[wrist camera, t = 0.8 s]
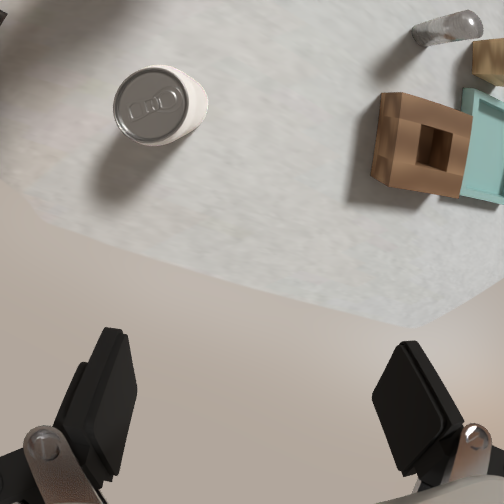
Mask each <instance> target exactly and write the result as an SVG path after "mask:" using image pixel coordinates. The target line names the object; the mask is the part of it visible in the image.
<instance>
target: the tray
mask: <svg viewBox="0 0 504 504" xmlns="http://www.w3.org/2000/svg"><path fill="white" fill-rule="evenodd" d="M461 112H463V113H466V114H469V115H471V116H473V122H472V129H471V136H470V143H469V149H468V155H467V161H466V166H465V171H464V176H463V181H462V186H461V190H460V195H462V196H467V197H471V198H476V199H480V200H485V201H489V202H494V203H498V204H502V205H504V102H502V101H500V100H498V99H496V98H494V97H492V96H490V95H488V94H486V93H484V92H481V91H479V90H477V89H475V88H463V94H462V105H461Z"/></svg>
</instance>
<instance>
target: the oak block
mask: <svg viewBox="0 0 504 504" xmlns="http://www.w3.org/2000/svg"><path fill="white" fill-rule="evenodd" d="M472 74H473V75H475V76H477V77H479V78H481V79H483V80H485V81H487V82H489V83H491V84H493V85H495V86H502V87H504V38H500V39H489V40H480V41H473V61H472Z"/></svg>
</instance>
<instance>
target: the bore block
mask: <svg viewBox="0 0 504 504" xmlns="http://www.w3.org/2000/svg"><path fill="white" fill-rule="evenodd" d="M472 122H473V116H471V115H469V114H466V113H463V112H461V111H458V110H455V109H453V108H450V107H447V106H444V105H441V104H438V103H435V102H432V101H429V100H426V99H423V98H420V97H416V96H413V95H410V94H406V93H403V92H393V93H382V94H381V103H380V112H379V120H378V128H377V136H376V143H375V150H374V156H373V163H372V169H371V175H370V176H371V177H373V178H375V179H377V180H378V181H380V182H382V183H383V184H385V185H387V186H388V187H394V188H400V189H406V190H413V191H419V192H425V193H430V194H436V195H441V196H447V197H452V198H457V199H459V195H460V190H461V186H462V181H463V176H464V171H465V166H466V161H467V155H468V149H469V143H470V136H471V129H472Z"/></svg>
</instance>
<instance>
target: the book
mask: <svg viewBox="0 0 504 504" xmlns="http://www.w3.org/2000/svg"><path fill="white" fill-rule="evenodd" d="M6 16H7V13H5V12H3V11H2V10H0V26H1V24H2V22H3V21H4V19H5V17H6Z"/></svg>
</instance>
